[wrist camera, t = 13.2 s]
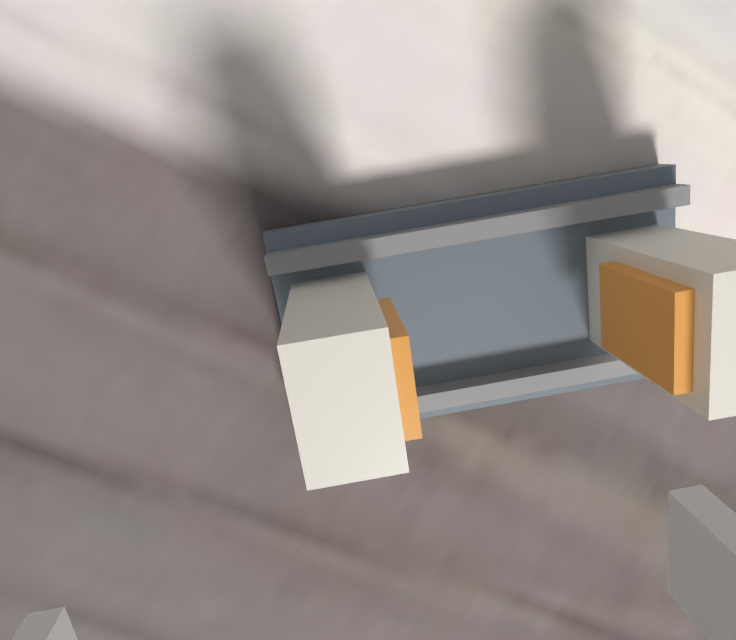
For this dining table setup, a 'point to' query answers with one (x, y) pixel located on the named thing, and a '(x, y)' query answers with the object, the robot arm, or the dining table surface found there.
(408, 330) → the rail
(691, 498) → the robot arm
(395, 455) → the white block orange panel
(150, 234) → the dining table surface
